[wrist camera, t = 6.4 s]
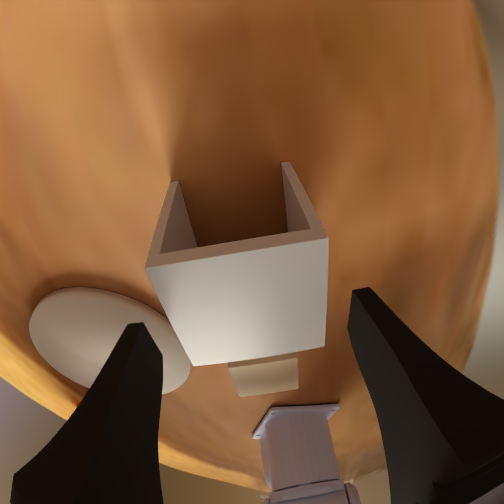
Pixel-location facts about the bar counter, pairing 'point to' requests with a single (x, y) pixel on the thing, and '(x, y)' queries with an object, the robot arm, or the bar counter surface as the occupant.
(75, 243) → the bar counter surface
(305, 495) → the robot arm
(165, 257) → the grey open box
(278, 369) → the maple block
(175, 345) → the ceramic dish
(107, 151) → the bar counter surface
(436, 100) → the bar counter surface
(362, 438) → the bar counter surface
